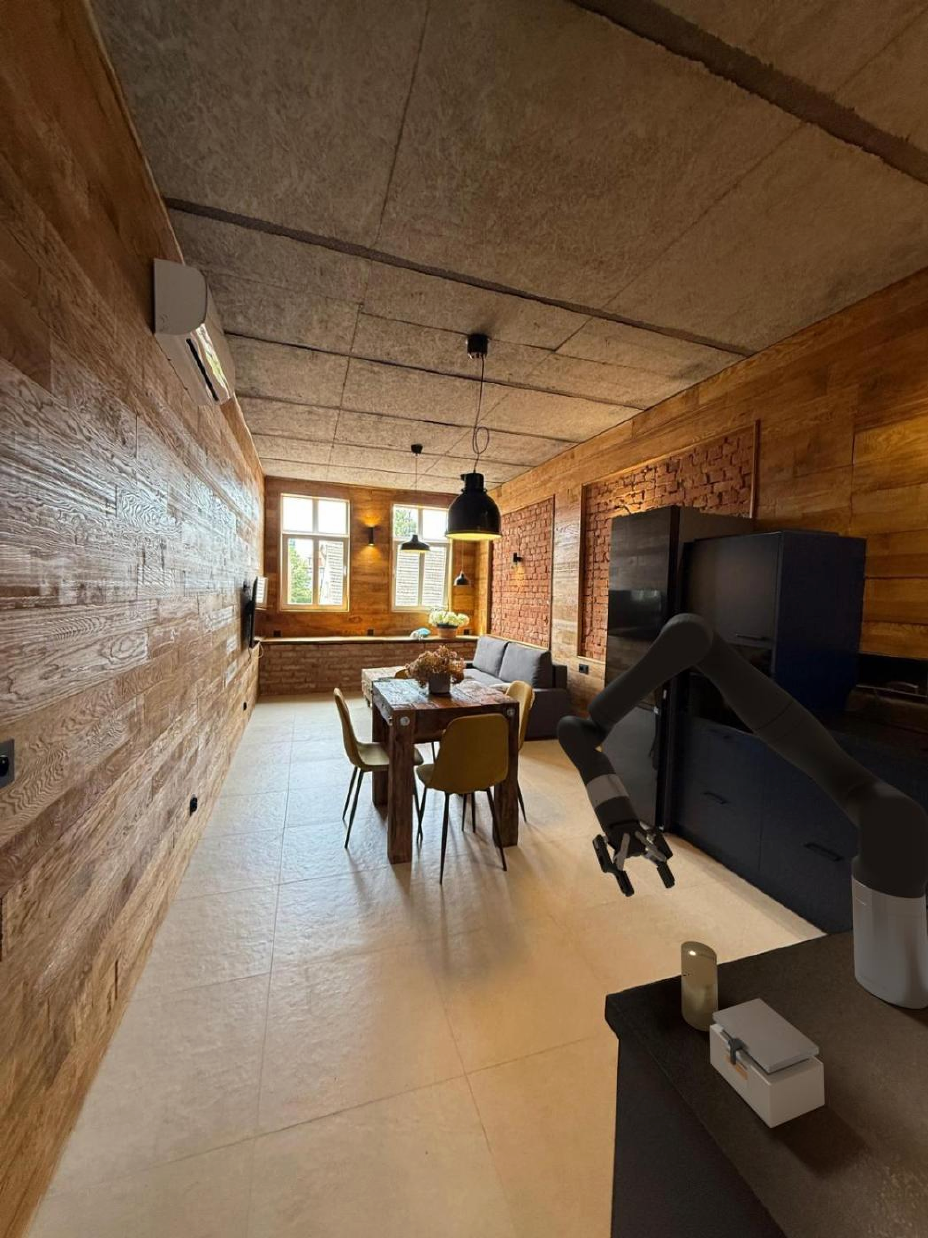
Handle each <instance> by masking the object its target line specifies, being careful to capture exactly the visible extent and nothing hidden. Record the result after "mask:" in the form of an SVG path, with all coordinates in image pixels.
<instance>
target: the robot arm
mask: <svg viewBox="0 0 928 1238" xmlns="http://www.w3.org/2000/svg"><path fill="white" fill-rule="evenodd" d="M692 666H693V667H695V668H696V670H698V671H699V672H701V673H702V674H703V676H705V677H706V678H708V679H709V680H710V681H711V683H712V684H714V686H715V687H716V688H717V689H718V690H719V692H720V694H721V695H722V696H723V698H724V699H725V701H726V702H727V703H728V705H729V706H730V707H731V709H732V710H733V712H734V713H735V714H736V715H737V717H738V718H739V719H740V720H741V721H742V722H743V723H744V724H745V725H746V727H747V728H748V729H750V730H751V732H753V733H754V734H755V735H756V736H757V737H758V738H759V739H761V741H763V742H764V743H765V744H766V745H767V746H768V747H770V748H771V749H772V750H773V751H774V752H776V753H777V754H778V755H779V756H781V757H782V758H783V759H784V760H786V761H787V762H789V763H790V764H792V765H793V766H794V767H796V768H798V769H799V770H801V771H802V772H804V773H805V774H806V775H807V776H809V777H810V778H811V779H812V780H813V781H815V782H816V784H818V786H820V788H822V790H823V791H825V793H826V794H827V795H828V796H829V797H830V798H831V800H832V801H834V803H835V804H836V805H837V806H838V807H839V808H840V809H841V810H842V812H843V813H844V814H845V816H846V817H847V818H848V819H849V820H850V822H852V823H853V825H854V826H855V827H857V828H858V855H855V856H854V857H852V859H851V861H850V862H851V866H850V867H851V869H850V870H851V892H852V920H853V921H852V922H853V923H852V926H853V956H854V957H853V958H854V961H853V962H854V976H855V979H856V980H857V983H859V985H861V987H863V989H865V990H866V991H867V992H869V993H871V995H874V996H876V997H877V998H879V999H881V1000H883V1001H885V1002H888V1003H889V1004H893V1005H895V1006H898V1007H901V1008H907V1009H917V1010H919V1009H924V1008H927V1007H928V928H927V927H928V926H927V925H928V924H927V905H926V904H927V903H926V902H927V901H926V885H927V883H928V814H927V813H926V811H925V809H924V808H923V807H922V806H921V805H920V804H919V803H918V802H917V801H915V800H914V799H913V798H911V797H909V796H908V795H907V794H905V793H903V792H902V791H900V790H899V789H897V788H895V787H894V786H892V785H891V784H889V783H887V782H885V781H884V780H882V779H881V778H879V777H878V776H876V775H875V774H874V773H873V772H871V771H870V770H868V769H867V768H865V767H864V765H862V764H860V763H859V762H858V761H856V760H855V759H854V758H853V757H851V756H850V755H849V754H848V753H847V752H846V751H845V750H844V749H843V748H842V747H841V746H840V745H839V744H838V742H837V741H836V740H835V738H833V736H832V735H831V733H830V732H829V731H828V730H827V729H826V728H825V727H824V725H823V724H822V723H821V722H820V721H819V720H818V719H817V718H816V717H815V716H814V715H813V714H812V713H811V712H810V711H809V709H807V708H805V706H803V705H802V704H801V703H800V702H799V701H797V700H796V699H795V697H793V696H792V695H791V694H790V693H789V692H787V691H786V690H784V689H783V688H782V687H780V686H779V685H778V684H777V683H776V682H775V681H773V680H772V679H771V678H770V677H769V676H767V675H766V674H764V673H763V672H762V671H760V669H758V668H757V667H755V666H754V665H752V664H751V662H748V661H747V660H746V659H745V658H744V657H742V656H741V654H739V652H737V651H736V650H735V649H734V648H733V647H732V646H731V645H730V644H729V643H728V642H727V640H726V639H724V637H722V636H721V634H720V633H719V632H718V631H717V630H716V629H715V627H713V625H711V623H710V622H709V621H707V620H706V618H704V617H702V616H700V615H698V614H695V613H689V612H688V613H687V612H685V613H679V614H677V615H674V616H673V617H671V618H670V619H669V620H668V621H667V623H666V624H664V625H663V626H662V628H661V631H660V633H659V635H658V636H657V637H656V639H655V640H654V642H653V643H652V644H651V645H650V647H649V648H648V650H646V652H645V653H644V654H643V655H642V656H641V657H640V659H638V660H637V661H636V662H635V663H634V664H633V665H632V666H631V667H629V668H628V669H627V670H626V671H624V672H623V673H621V674H620V675H619V676H617V677H616V678H615V679H614V680H612V681H610V683H608V685H606V686H605V687H604V688H603V689H602V690H601V691H600V692H598V694H597V695H596V696H594V697H593V699H591V700H590V702H589V703H588V705H587V712H588V714H589V716H588V717H587V718H584V717H579V716H574V715H566V716H563V717H562V718H561V719H560V720H559V721H558V723H557V725H556V737H557V738H556V739H557V741H558V743H559V746H560V747H561V749H562V750H563V752H564V753H565V755H566V757H568V759H569V760H570V762H571V763H572V764H573V766H574V767H575V768H576V769H577V771H578V773H579V776H580V778H581V781H582V783H583V785H584V787H585V790H586V793H587V797H588V800H589V803H590V805H591V807H592V810H593V812H594V814H595V817H596V819H597V821H598V823H599V826H600V828H601V831H602V833H604V835H602V834H600V833H599V834H597V835H596V836H595V837H594V838H593V839H592V842H591V843H592V846H593V848H594V852H595V854H596V858H597V860H598V862H599V866H600V869H601V871H602V872H603V873H604V874H607V873H609V874H613V876H614V877H615V880H616V883H617V885H618V887H619V890H620V891H621V893H622V894H623V895H624V896H625V897H626V898H631V897H632V896H633V895H635V889H634V887H633V884H632V882H631V880H630V877H629V875H628V873H627V871H626V870H624V869H625V868H624V867H625V860H627V859H631V858H632V857H635V858H637V857H643V858H644V859H645V860H649V861H650V862H651V863H652V864H653V865H655V866H656V870H657V871H656V872H657V873H658V874H659V877H660V879H661V881H662V883H663V886H664V888H665V889H667V890H668V889H672V888H673V887H674V886H675V885H676V883H675V882H676V879H675V878H676V877H674V875H673V872H672V871H671V870H672V869H670V866H669V863H668V861H669V860H670V859H672V858H673V856H674V854H673V851H672V849H671V848H670V845H669V844H668V842H667V841H666V839H665V837H664V836H663V834H662V831H661V830H660V828H659V827H658V826H657V825H655V824H654V825H652V826H651V827H650V828H646V829H645V827H643V826H642V824H641V822H640V816H639V814H638V812H637V810H636V808H635V806H634V804H633V802H632V800H631V798H630V795H629V794H628V792H627V790H626V788H625V785H624V784H623V783H622V782H621V780H620V778H619V776H618V774H617V772H616V771H615V768H614V766H613V764H612V762H611V760H610V758H609V757H608V756H607V754H605V753H604V752H602V751H600V750H598V749H597V748H599V747H600V746H601V745H602V744H603V743H604V742H606V741H605V740H606V739H607V738H608V736H609V735H610V734H611V732H612V730H613V728H614V727H615V726H616V725H617V724H618V723H619V722H620V721H622V719H624V718H625V717H626V716H627V715H628V714H629V713H631V712H632V711H633V710H634V709H635V708H636V707H638V706H639V704H641V703H642V702H643V701H644V700H645V699H646V698H647V697H648V696H649V695H651V693H653V692H654V691H655V690H657V689H658V688H659V687H660V686H662V685H663V684H665V683H666V682H667V681H669V680H670V679H672V678H673V677H675V676H676V675H678V674H680V673H682V672H683V671H685V670H687V669H688V668H690V667H692ZM608 846H609V847H610V848H611V849H613V854H612V858H611V855H610V852H609V850H608ZM646 849H647V850H646Z"/></svg>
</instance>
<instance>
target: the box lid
mask: <svg viewBox="0 0 928 1238" xmlns="http://www.w3.org/2000/svg"><path fill="white" fill-rule="evenodd" d="M713 1020H715V1021H716V1022H717V1023H718V1024H719V1025H720V1026H721V1027H722V1028H723V1029H724V1030H725V1031H726V1032H727V1033H728V1034H729V1035H730V1036H731V1037H732V1038H733V1039H731V1040H728V1045H729V1046H730V1062H731V1063H732V1064H733V1065H736V1051H739V1050H742V1049H744V1050H745V1051H746V1052H748V1053H749V1054H750V1055H751V1056H752V1057H753V1058H754V1061H755V1063H756V1064H757V1065H758V1066H759V1067H760V1068H762V1069H764V1070H766V1071H767V1072H768V1073H771V1072H773V1071H776V1070H778V1069H781V1068H784V1067H786V1066H789V1065H791V1064H794V1063H796V1062H799V1061H801V1060H804V1059H806V1058H809V1057H812V1056H814V1057H815V1056H816V1055H817V1056H818V1054H820V1050H819V1049H820V1047H819V1046H818V1045H817V1044H815V1042H813V1041H812V1040H811V1039H810V1038H808V1037H807V1036H806V1035H805V1034H803V1032H801V1031H800V1030H799V1029H797V1028H796V1027H795V1026H794V1025H793V1024H791V1022H789V1021H787V1020H786V1019H785V1018H784V1017H783V1016H781V1014H779V1013H778V1012H776V1011H775V1010H774V1009H773V1008H771V1006H770V1005H768V1004H767V1003H766V1002H764V1001H763V1000H762V999H761V998H760V997H758V998H755V999H752V1000H749V1001H745V1002H743V1003H740V1004H736V1005H734V1006H730V1007H728V1008H725V1009H721V1010H718V1012H715V1013H713Z"/></svg>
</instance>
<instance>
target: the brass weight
mask: <svg viewBox="0 0 928 1238" xmlns="http://www.w3.org/2000/svg"><path fill="white" fill-rule="evenodd" d="M680 966H681V967H680V969H681V970H680V971H681V975H680V976H682V977H681V1014H682V1017H683V1019H684V1021H685V1022H687V1024H688V1025H690V1026H691V1027H693V1028H694V1029H696V1030H698V1031H701V1032H702V1031H703V1032H710V1026H711V1025H714V1024H717V1022H716V1021H715V1020H713V1013H715V1012H718V1011H719V1003H718V1002H719V1000H718V999H719V997H718V996H719V993H718V956H717V953H716V951H715V950H714V949H713V948H712V947H710V946H709V945H708V944H707V945H706V944H705V943H703V942H699V941H694V940H688V941H684V942H683V943H682V944H681V945H680ZM688 974H689V975H688ZM683 975H686V976H683Z"/></svg>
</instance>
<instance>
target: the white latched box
mask: <svg viewBox="0 0 928 1238" xmlns="http://www.w3.org/2000/svg"><path fill="white" fill-rule="evenodd" d="M731 1039H733V1038H732V1037H731V1036H730V1035H729V1034H728V1033H727V1032H726V1031H725V1030H724V1029H723V1028H722V1027H721V1026H720V1025H719V1024H718V1023H717V1024H714V1025H711V1026H710V1031H709V1046H710V1047H709V1051H710V1052H709V1053H710V1055H709V1058H710V1064H711V1065H712V1066H713V1067H714V1069H716V1071H717V1072H718V1073H719V1074H720V1075H721V1076H722V1077H723V1078H724V1079H725V1080H726V1081H727V1082H728V1084H729V1085H730V1086H731V1087H732V1088H733V1089H734V1090H735V1091H736V1093H737V1094H738V1095H740V1097H742V1099H743V1100H744V1101H745V1102H746V1103H747V1104H748V1106H749V1107H751V1109H752V1110H753V1111H754V1112H755V1113H756V1114H757V1116H758V1117H760V1118H761V1120H762V1121H763V1122H764V1123H765V1124H766V1125H767V1126H768V1127H769V1128H770V1129H772V1128H775V1127H776V1126H779V1125H781V1124H784V1123H785V1122H788V1121H792V1120H793V1119H795V1118H798V1117H799V1116H802V1115H805V1114H806V1113H808V1112H812V1111H814V1110H815V1109H817V1108H821V1107H822V1106H825V1075H824V1074H825V1073H824V1072H825V1071H824V1063H823V1062H822V1061H820V1060H819V1059H818V1058H817V1057H815V1055H814V1056H812V1057H809V1058H806V1059H804V1060H801V1061H799V1062H796V1063H794V1064H791V1065H789V1066H786V1067H784V1068H781V1069H778V1070H776V1071H773V1072H771V1073H768V1072H767V1071H766V1070H764V1069H762V1068H760V1067H759V1066H758V1065H757V1064H756V1063H755V1061H754V1058H753V1057H752V1056H751V1055H750V1054H749V1053H748V1052H746V1051H745V1050H744V1049H742V1050H739V1051H736V1065H733V1064H732V1063H731V1062H730V1046H729V1045H728V1040H731Z"/></svg>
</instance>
